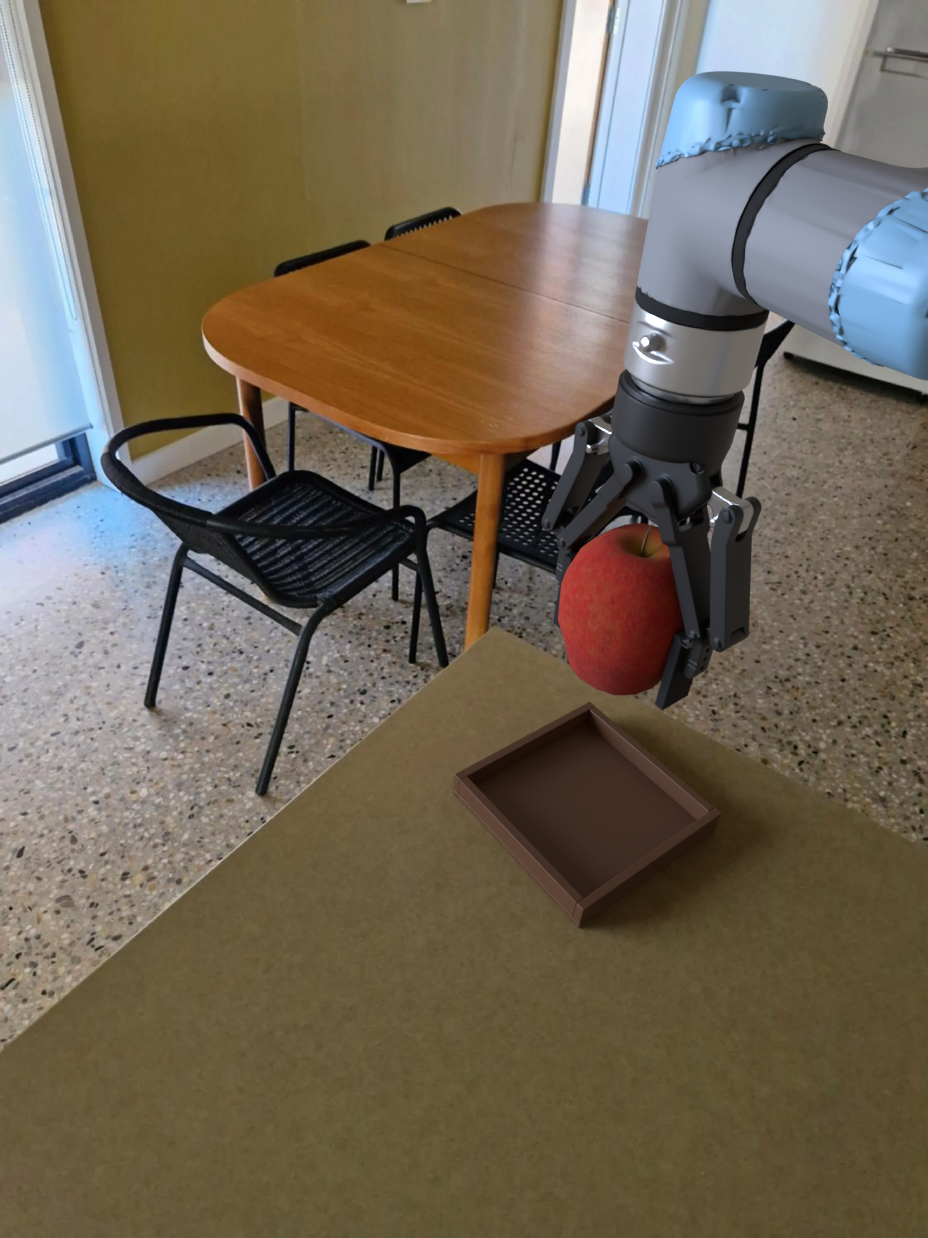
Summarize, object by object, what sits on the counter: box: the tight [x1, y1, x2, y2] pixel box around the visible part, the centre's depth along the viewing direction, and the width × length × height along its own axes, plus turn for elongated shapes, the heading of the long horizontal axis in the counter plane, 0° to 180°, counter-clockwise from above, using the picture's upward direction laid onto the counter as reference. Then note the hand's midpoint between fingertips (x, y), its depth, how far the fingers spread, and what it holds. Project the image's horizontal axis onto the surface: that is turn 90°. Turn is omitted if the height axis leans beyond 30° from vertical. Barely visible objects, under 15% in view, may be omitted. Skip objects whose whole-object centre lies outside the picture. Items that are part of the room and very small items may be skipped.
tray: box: [452, 701, 722, 929], centre depth 78 cm, size 17×17×2 cm
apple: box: [558, 522, 685, 696], centre depth 64 cm, size 10×10×14 cm
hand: (617, 657), depth 67 cm, fingers closed on apple, 10 cm apart
